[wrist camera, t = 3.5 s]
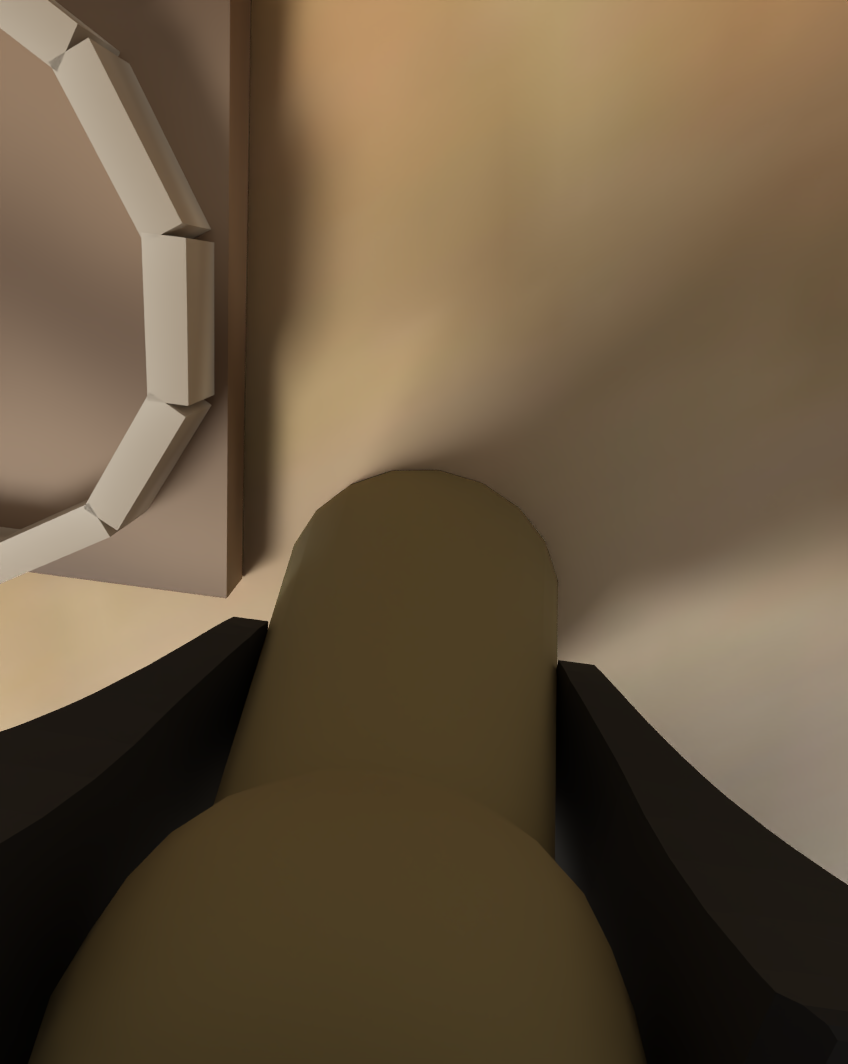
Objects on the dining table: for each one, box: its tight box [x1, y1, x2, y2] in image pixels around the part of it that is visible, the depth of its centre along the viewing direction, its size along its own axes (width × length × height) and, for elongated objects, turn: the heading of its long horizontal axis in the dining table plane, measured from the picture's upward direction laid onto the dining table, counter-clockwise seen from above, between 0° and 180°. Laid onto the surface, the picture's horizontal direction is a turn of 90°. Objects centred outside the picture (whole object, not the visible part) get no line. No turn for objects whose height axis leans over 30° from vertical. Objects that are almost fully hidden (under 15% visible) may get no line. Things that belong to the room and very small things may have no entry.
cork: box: [28, 470, 647, 1064], centre depth 9 cm, size 6×6×11 cm
